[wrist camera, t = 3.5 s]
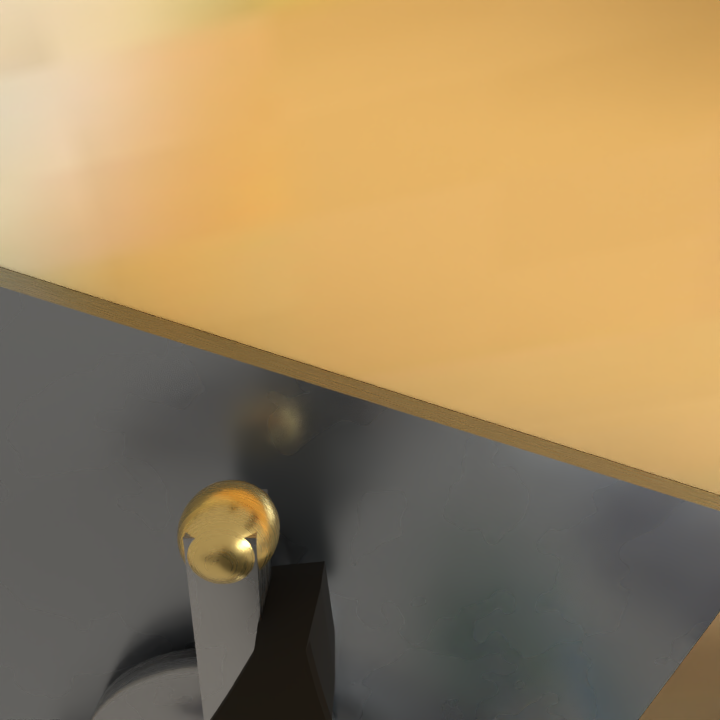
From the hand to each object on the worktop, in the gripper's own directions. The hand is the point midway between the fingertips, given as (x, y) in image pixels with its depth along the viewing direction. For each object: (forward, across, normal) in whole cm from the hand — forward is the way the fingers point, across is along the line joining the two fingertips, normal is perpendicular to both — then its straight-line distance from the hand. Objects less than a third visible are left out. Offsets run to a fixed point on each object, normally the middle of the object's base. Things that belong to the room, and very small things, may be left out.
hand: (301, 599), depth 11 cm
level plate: (+2, +2, +5) cm, 6 cm away
